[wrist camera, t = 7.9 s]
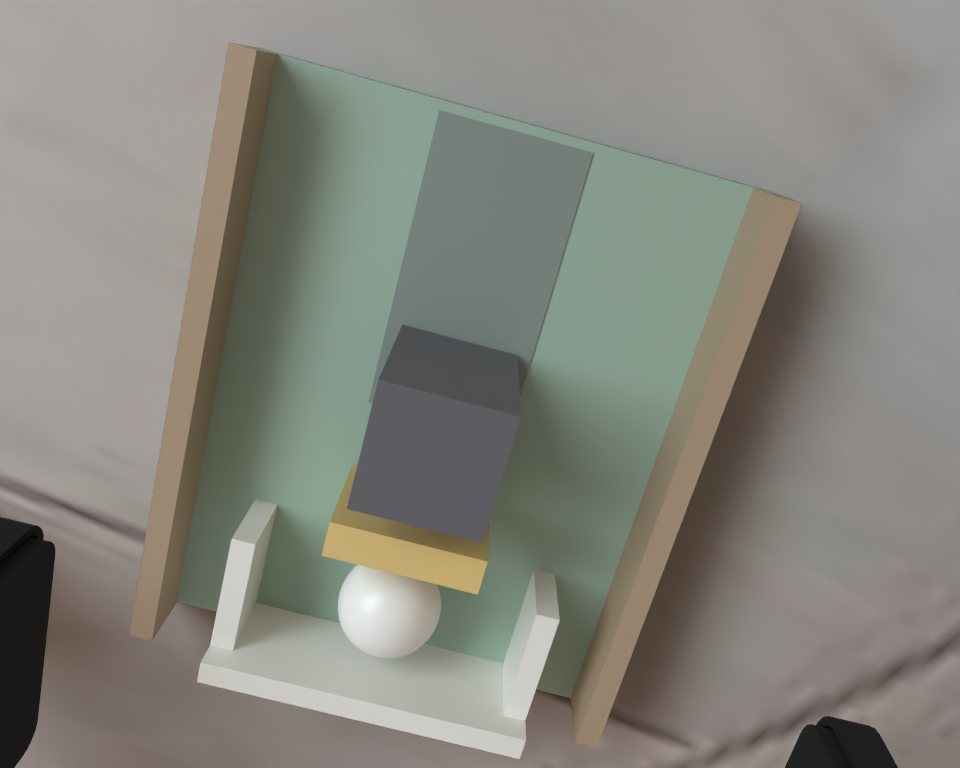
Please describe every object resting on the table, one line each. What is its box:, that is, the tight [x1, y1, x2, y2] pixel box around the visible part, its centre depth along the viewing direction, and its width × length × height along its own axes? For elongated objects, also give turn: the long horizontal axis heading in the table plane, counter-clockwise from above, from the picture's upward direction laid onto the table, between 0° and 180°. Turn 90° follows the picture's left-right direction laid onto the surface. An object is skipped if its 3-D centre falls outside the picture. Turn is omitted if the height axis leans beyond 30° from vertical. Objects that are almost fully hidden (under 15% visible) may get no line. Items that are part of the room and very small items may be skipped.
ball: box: [338, 565, 441, 659], centre depth 31 cm, size 4×4×4 cm
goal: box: [197, 499, 560, 759], centre depth 31 cm, size 11×5×4 cm, turn 75°
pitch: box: [129, 43, 802, 748], centre depth 30 cm, size 17×20×3 cm
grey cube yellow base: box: [322, 325, 521, 595], centre depth 28 cm, size 5×7×6 cm
